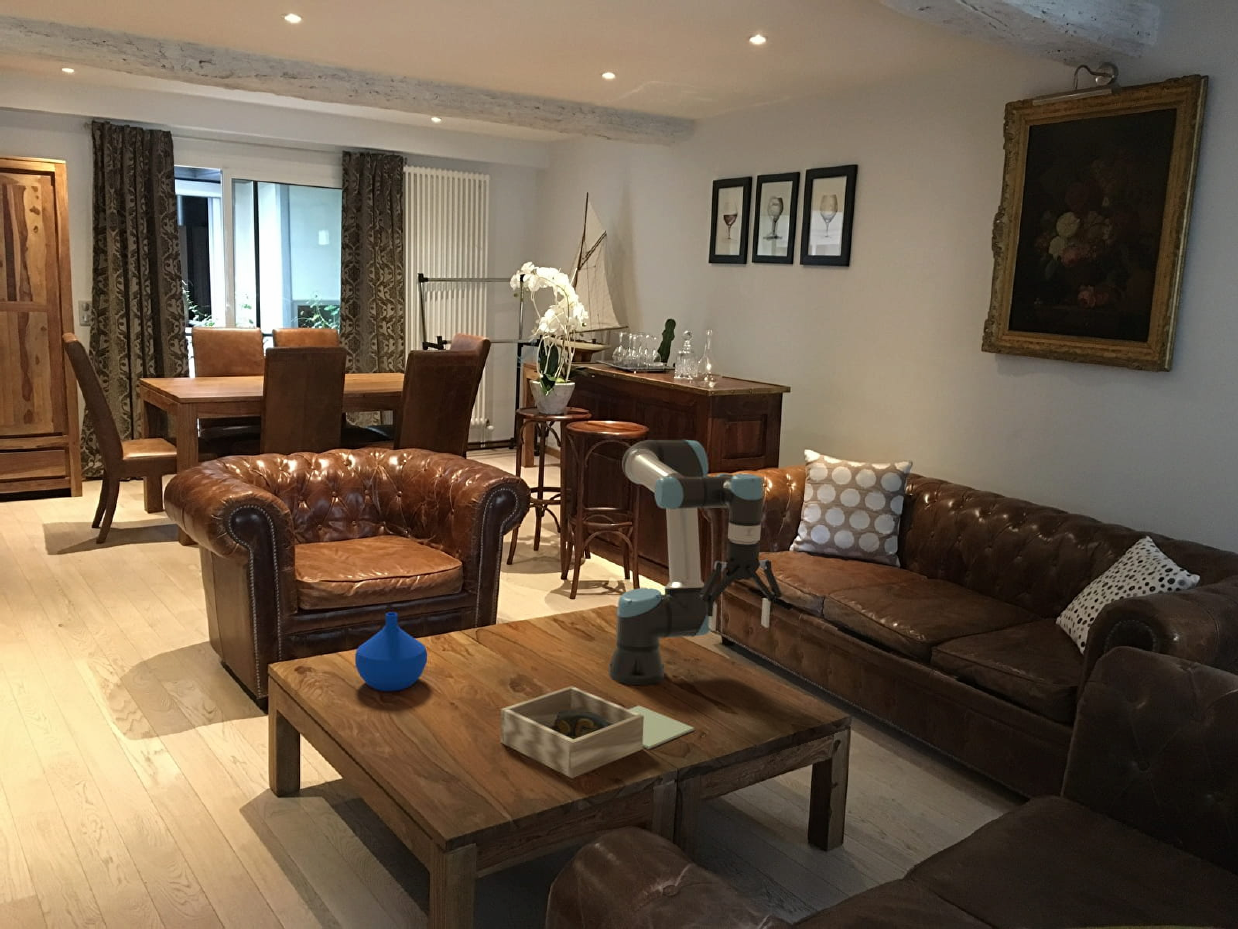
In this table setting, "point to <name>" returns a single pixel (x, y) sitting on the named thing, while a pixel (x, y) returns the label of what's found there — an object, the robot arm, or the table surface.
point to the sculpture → (579, 723)
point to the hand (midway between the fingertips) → (738, 627)
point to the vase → (391, 658)
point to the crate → (570, 757)
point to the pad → (659, 727)
